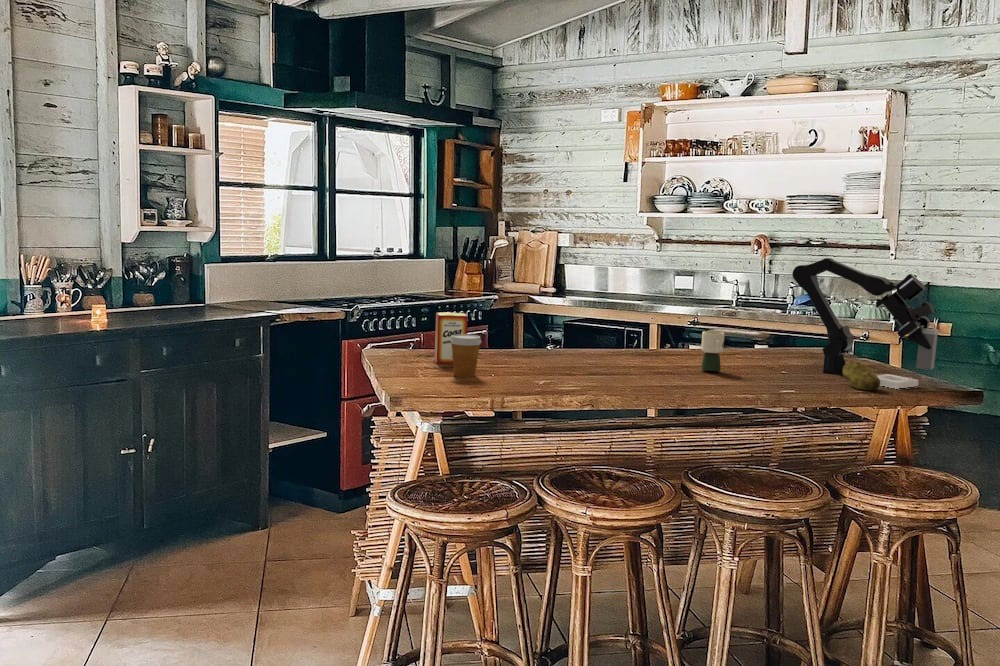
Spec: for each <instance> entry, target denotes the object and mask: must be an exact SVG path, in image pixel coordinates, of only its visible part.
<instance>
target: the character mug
mask: <svg viewBox="0 0 1000 666" xmlns="http://www.w3.org/2000/svg"><path fill="white" fill-rule="evenodd" d="M724 342H725V332H723V331H713V330H704V331H702V333H701V347H700V348H701V351H702V352H704V354H703V357H702V361H701V367H700V369H701V371H709V372H711V373H714V372H721V371H722V370H721V357H720V353H723V352H724V344H725V343H724Z"/></svg>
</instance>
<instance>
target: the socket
mask: <svg viewBox="0 0 1000 666" xmlns="http://www.w3.org/2000/svg"><path fill="white" fill-rule="evenodd" d="M876 376H877V377H878V378H879V380H880V386H879V387H882V386H885V387H884V388H887V387H889V388H888V389H891V388H895V389H894V390H896V389H898V390H900V389H899V388H906V389H908V388H907V387H914V386H918V387H919V379H915V378H913V377H905V376H900V375H896V374H895V375H894V374H890V373H885V374H883V373H882V374H876ZM914 388H915V387H914Z"/></svg>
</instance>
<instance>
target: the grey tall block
mask: <svg viewBox="0 0 1000 666" xmlns="http://www.w3.org/2000/svg"><path fill="white" fill-rule="evenodd" d="M923 334H924V336H925V338H926V339H927V341H928V342H929V344H930V346H931V349H929V350H928V349H926V348H924V347H922V346H920V345H918V344H917V355H916V362H915V363H916V365H915V369H916V368H917V369H920V370H921V369H922V370H930V371H932V369H933V370H934V369H935V361H936V355H937V353H936V351H937V344H938V343H937V342H938V334H939V329H937V328H936V329H934V328H929V327H928V328H923Z"/></svg>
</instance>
